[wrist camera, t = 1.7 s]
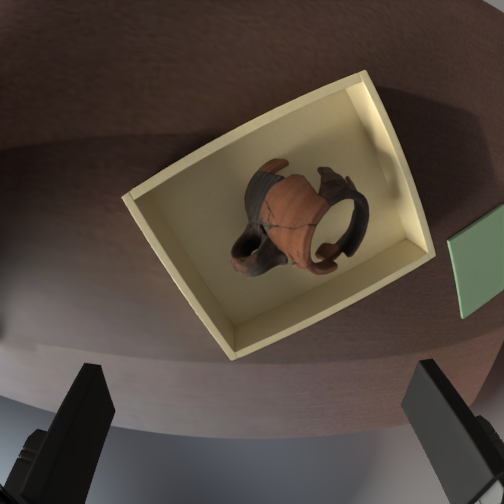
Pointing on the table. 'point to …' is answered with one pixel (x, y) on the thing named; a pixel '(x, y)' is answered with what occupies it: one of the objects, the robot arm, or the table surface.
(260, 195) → the pottery mug
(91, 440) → the robot arm
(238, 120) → the table surface
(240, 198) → the cream yellow tray
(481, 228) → the mat
